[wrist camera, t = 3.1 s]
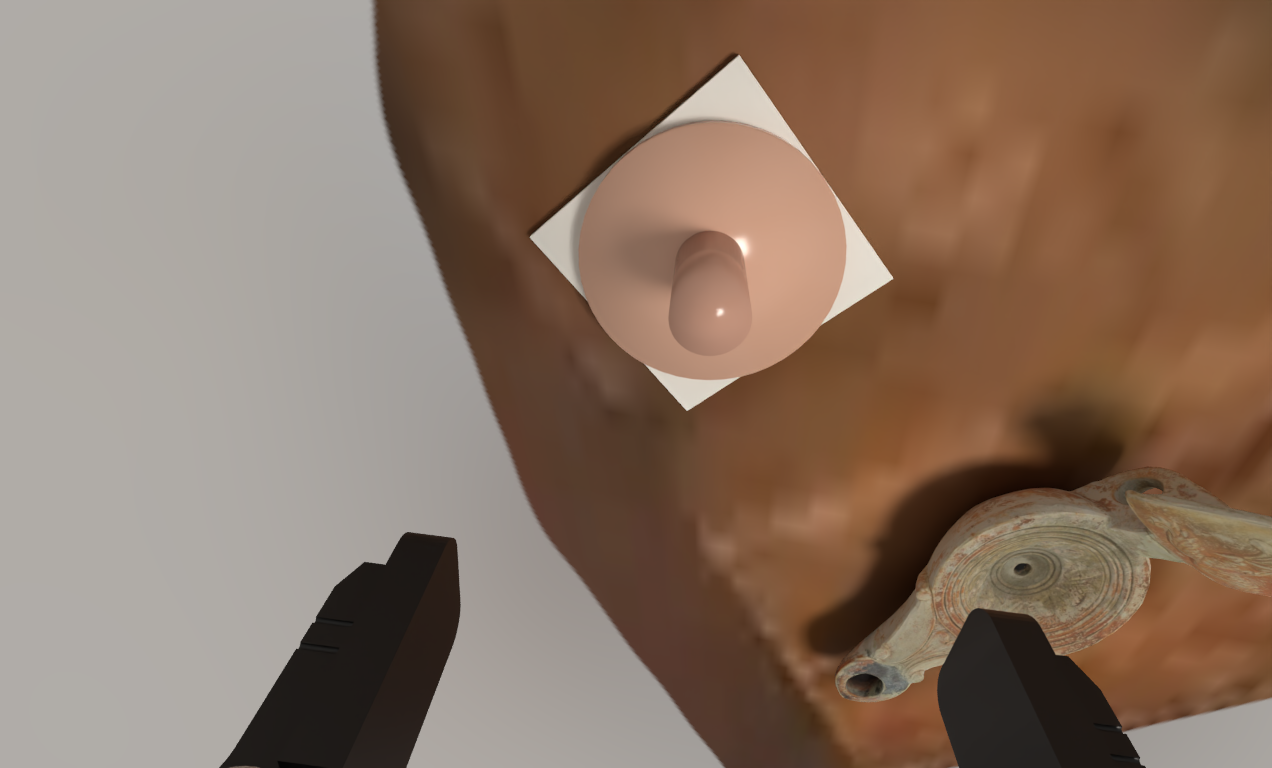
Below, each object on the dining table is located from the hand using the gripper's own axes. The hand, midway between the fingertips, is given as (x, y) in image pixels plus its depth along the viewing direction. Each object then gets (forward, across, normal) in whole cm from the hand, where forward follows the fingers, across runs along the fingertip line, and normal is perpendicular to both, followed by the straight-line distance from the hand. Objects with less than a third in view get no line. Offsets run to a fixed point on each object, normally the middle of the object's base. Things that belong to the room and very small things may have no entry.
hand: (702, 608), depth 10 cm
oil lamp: (+18, -16, +13) cm, 27 cm away
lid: (+18, 0, 0) cm, 18 cm away
